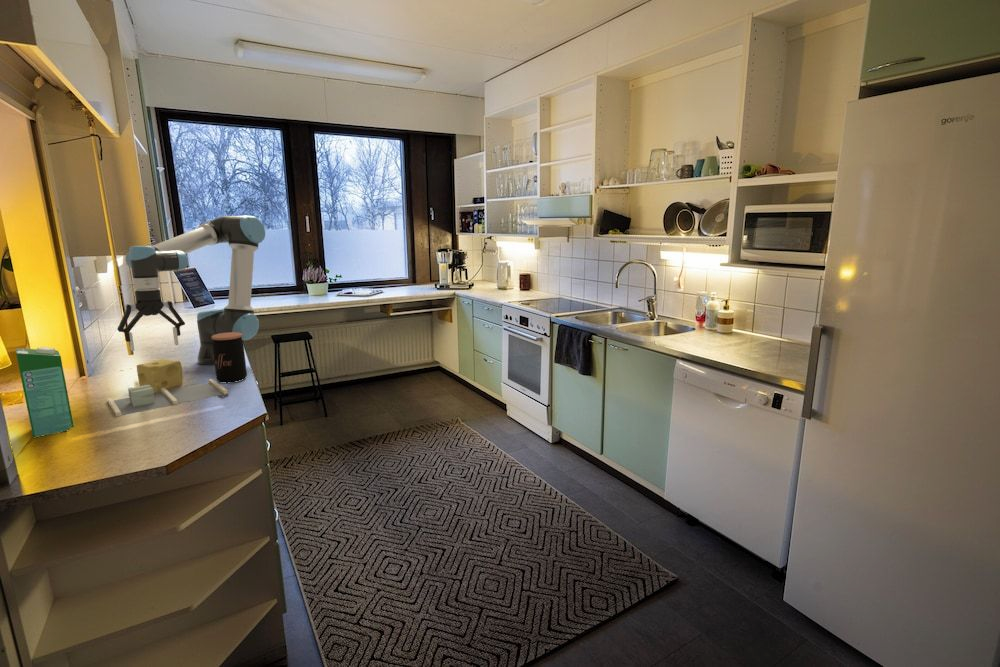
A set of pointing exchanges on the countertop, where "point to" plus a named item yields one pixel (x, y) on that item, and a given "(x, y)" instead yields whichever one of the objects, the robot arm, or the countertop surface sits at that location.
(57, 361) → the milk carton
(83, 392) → the countertop surface
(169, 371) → the cheese
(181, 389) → the slot board
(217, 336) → the coffee jar
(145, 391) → the sage block
